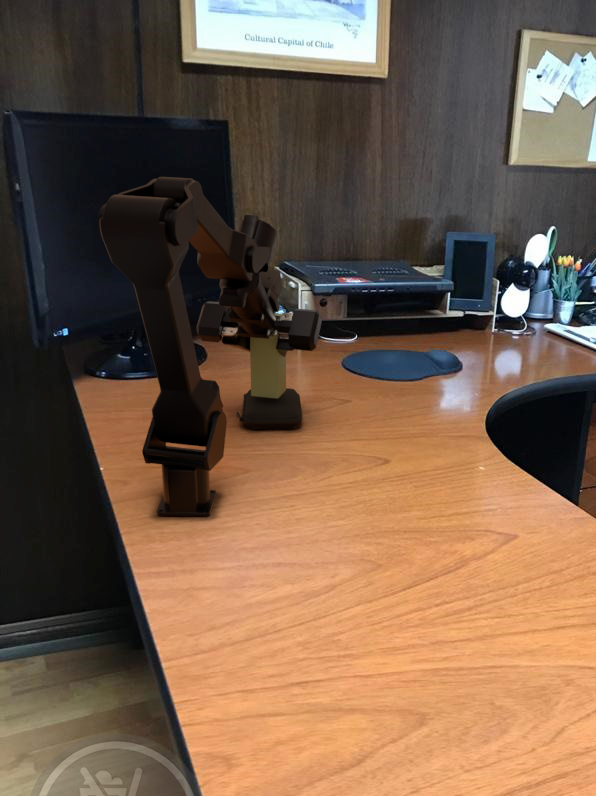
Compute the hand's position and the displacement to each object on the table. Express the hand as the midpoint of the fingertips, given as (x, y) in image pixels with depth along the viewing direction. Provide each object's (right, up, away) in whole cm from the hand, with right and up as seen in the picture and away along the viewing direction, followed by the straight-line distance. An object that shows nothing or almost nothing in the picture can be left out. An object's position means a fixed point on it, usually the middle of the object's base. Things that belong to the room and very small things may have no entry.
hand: (271, 352), depth 127 cm
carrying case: (-1, -11, +3) cm, 11 cm away
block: (-1, -7, +1) cm, 7 cm away
